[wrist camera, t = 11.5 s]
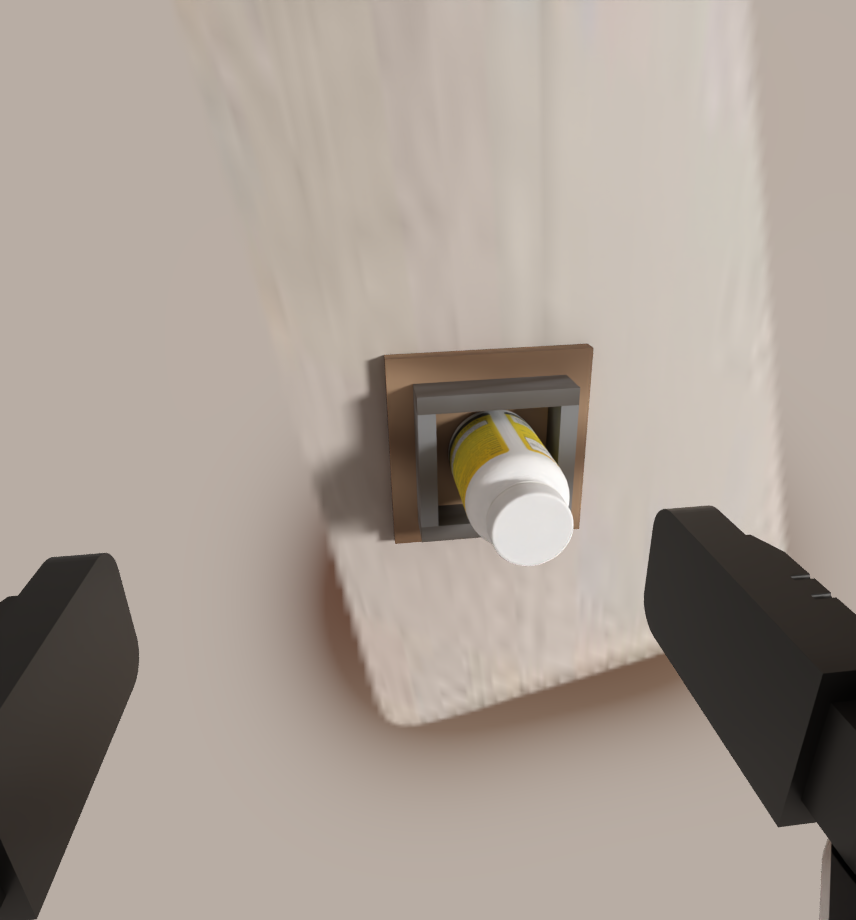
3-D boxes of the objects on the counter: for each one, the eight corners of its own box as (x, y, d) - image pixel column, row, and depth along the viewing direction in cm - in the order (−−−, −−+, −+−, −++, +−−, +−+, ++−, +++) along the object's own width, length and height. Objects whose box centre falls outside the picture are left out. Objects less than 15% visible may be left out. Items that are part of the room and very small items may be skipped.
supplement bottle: (444, 489, 40) (470, 580, 31) (449, 405, 38) (479, 477, 29) (529, 489, 40) (580, 578, 31) (540, 407, 38) (597, 477, 29)
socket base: (384, 355, 37) (387, 372, 34) (587, 343, 38) (609, 359, 35) (394, 535, 42) (398, 565, 39) (573, 521, 43) (591, 549, 40)
